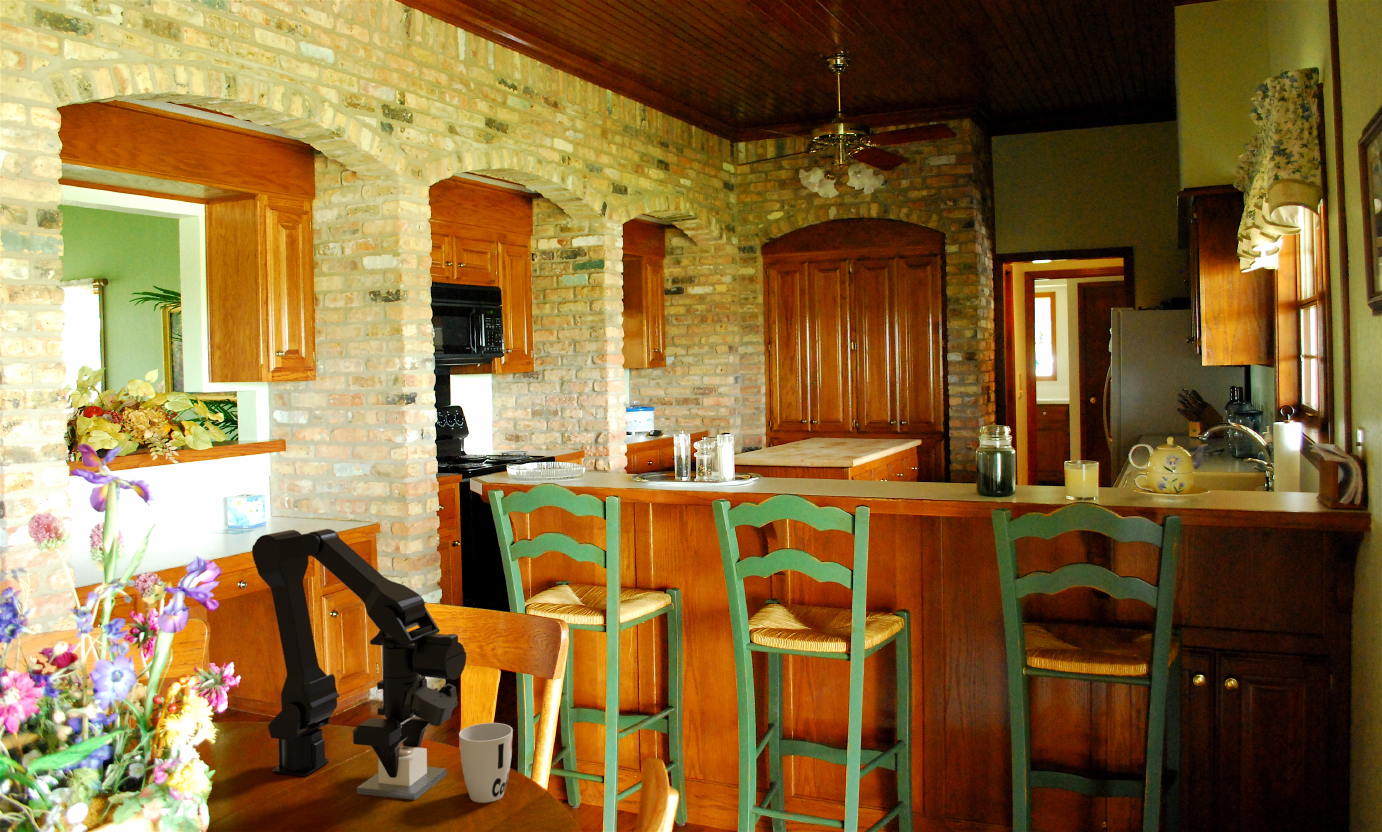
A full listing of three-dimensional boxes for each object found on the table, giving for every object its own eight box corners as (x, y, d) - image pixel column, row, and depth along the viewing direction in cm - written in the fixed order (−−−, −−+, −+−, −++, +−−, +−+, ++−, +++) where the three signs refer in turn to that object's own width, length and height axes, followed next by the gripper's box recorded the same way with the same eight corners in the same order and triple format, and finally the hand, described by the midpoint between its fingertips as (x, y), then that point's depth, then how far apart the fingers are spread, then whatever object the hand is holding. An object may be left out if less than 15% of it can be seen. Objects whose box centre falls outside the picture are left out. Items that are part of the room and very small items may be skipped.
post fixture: (357, 793, 152) (356, 768, 152) (391, 769, 162) (391, 745, 162) (415, 799, 150) (414, 774, 150) (446, 774, 159) (446, 750, 159)
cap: (378, 782, 154) (378, 755, 154) (397, 769, 159) (396, 743, 159) (409, 786, 152) (409, 758, 152) (427, 772, 158) (426, 745, 158)
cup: (501, 808, 146) (500, 742, 146) (450, 804, 148) (449, 739, 148) (521, 787, 154) (520, 724, 154) (473, 783, 156) (472, 721, 156)
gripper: (416, 694, 144) (418, 799, 145) (474, 660, 162) (475, 753, 163) (350, 689, 147) (351, 792, 147) (414, 656, 165) (415, 747, 166)
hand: (402, 770), depth 156 cm, fingers closed on cap, 5 cm apart
